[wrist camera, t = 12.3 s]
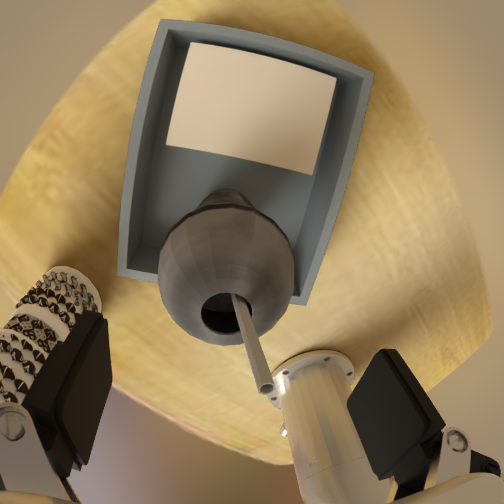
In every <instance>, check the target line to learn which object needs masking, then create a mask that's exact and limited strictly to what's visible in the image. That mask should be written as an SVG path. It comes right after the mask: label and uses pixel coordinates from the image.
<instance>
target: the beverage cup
mask: <svg viewBox="0 0 504 504" xmlns="http://www.w3.org/2000/svg"><path fill="white" fill-rule="evenodd" d="M158 284H159V289H160V293H161V298H162V301H163V304H164V306H165V307H166V309H167V311H168V312H169V314H170V315H171V317H172V319H173V320H174V321H175V322H176V324H178V325H179V326H180V327H181V328H182V329H183V330H185V331H186V332H187V333H188V334H189V335H191V336H193V337H195V338H198V339H200V340H202V341H204V342H207V343H211V344H216V345H222V346H227V345H240V344H243V343H244V344H245V348H246V351H247V354H248V358H249V361H250V365H251V368H252V372H253V375H254V378H255V382H256V385H257V388H258V392H259V393H260V394H263V395H266V394H270V393H272V392H273V391H274V390H275V384H274V381H273V378H272V375H271V373H270V370H269V367H268V364H267V361H266V359H265V356H264V353H263V350H262V348H261V345H260V342H259V339H258V338H259V337H260V336H262V335H263V334H265V333H266V332H268V331H269V330H270V329H272V328H273V327H274V325H275V324H276V323H277V322H278V321H279V319H280V318H281V317H282V316H283V314H284V313H285V312H286V310H287V307H288V304H289V302H290V299H291V297H292V294H293V291H294V254H293V251H292V248H291V245H290V242H289V240H288V237H287V236H286V234H285V233H284V232H283V231H282V229H281V228H280V227H279V226H278V224H277V223H276V222H275V221H274V220H273V219H271V218H270V217H268V216H266V215H265V214H263V213H262V212H260V211H258V210H257V209H255V207H254V206H253V205H252V204H251V202H250V201H249V200H248V199H247V198H246V197H245V196H244V195H243V194H241V193H239V192H238V191H236V190H232V189H219V190H217V191H214V192H212V193H211V194H210V195H208V196H207V197H206V198H205V199H204V200H203V201H202V202H201V203H200V204H199V206H198V207H197V208H196V209H195V211H192V212H190V213H188V214H186V215H185V216H184V217H183V218H182V219H181V220H179V221H178V222H177V223H176V224H175V225H174V226H173V227H172V228H171V229H170V230H169V232H168V234H167V236H166V238H165V239H164V241H163V243H162V245H161V247H160V254H159V261H158Z"/></svg>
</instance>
